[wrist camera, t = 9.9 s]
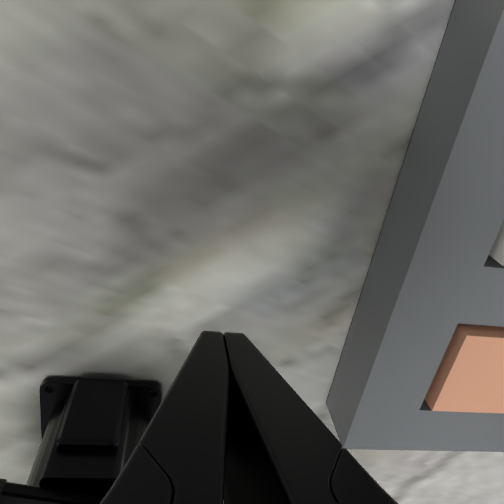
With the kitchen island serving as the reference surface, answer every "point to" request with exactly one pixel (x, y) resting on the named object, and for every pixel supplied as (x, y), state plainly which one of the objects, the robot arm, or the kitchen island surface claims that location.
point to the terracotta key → (470, 372)
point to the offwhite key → (498, 247)
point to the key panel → (433, 255)
